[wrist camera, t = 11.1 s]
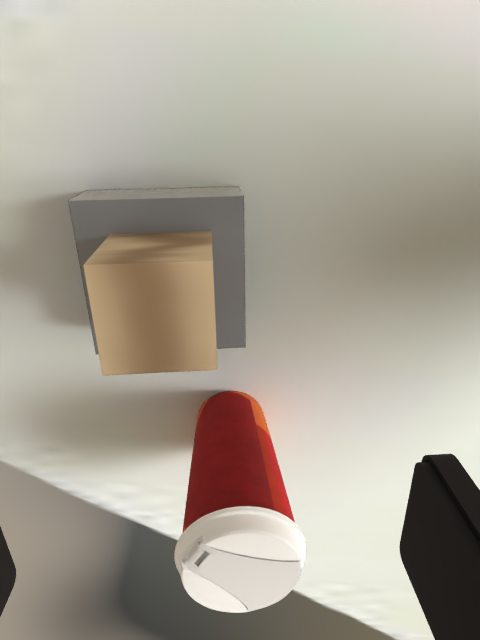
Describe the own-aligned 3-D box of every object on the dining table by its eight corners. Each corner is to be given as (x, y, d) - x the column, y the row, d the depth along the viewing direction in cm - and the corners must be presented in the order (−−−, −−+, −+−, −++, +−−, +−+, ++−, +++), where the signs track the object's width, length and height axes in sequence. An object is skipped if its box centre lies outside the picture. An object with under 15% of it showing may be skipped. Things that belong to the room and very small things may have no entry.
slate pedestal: (239, 186, 29) (243, 195, 25) (241, 322, 33) (245, 347, 29) (86, 190, 28) (68, 200, 24) (108, 328, 32) (96, 354, 29)
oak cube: (211, 231, 26) (212, 260, 20) (215, 321, 28) (217, 369, 23) (109, 234, 25) (83, 265, 20) (123, 325, 28) (102, 375, 23)
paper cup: (168, 430, 37) (147, 594, 24) (216, 364, 34) (221, 507, 22) (244, 466, 39) (261, 632, 26) (294, 405, 36) (340, 558, 24)
